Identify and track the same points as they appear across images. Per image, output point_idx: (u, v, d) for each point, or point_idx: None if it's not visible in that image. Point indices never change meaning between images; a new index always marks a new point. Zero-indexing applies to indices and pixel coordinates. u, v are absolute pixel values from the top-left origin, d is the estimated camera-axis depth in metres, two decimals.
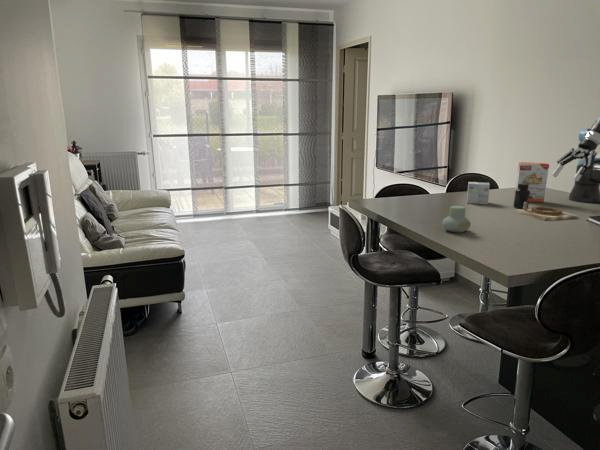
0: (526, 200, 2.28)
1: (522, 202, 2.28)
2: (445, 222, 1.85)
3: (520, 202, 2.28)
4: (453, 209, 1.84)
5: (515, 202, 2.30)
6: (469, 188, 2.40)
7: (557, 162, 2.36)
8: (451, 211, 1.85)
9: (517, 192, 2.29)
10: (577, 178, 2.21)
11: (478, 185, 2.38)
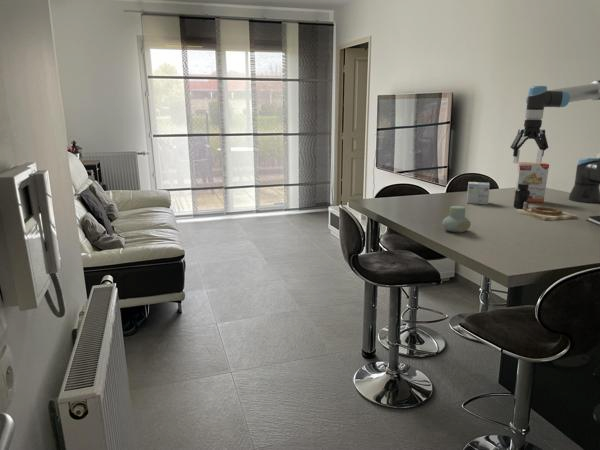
0: (526, 200, 2.28)
1: (522, 202, 2.28)
2: (445, 222, 1.85)
3: (520, 202, 2.28)
4: (453, 209, 1.84)
5: (515, 202, 2.30)
6: (469, 188, 2.40)
7: None
8: (451, 211, 1.85)
9: (517, 192, 2.29)
10: (515, 161, 2.24)
11: (478, 185, 2.38)
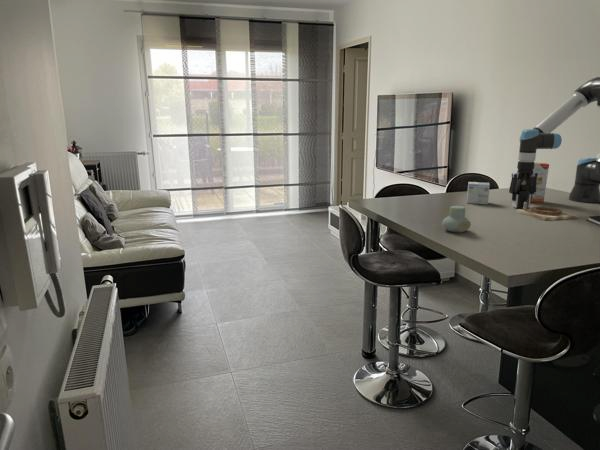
0: (526, 200, 2.28)
1: (522, 202, 2.28)
2: (445, 222, 1.85)
3: (520, 202, 2.28)
4: (453, 209, 1.84)
5: None
6: (469, 188, 2.40)
7: None
8: (451, 211, 1.85)
9: None
10: (514, 205, 2.30)
11: (478, 185, 2.38)
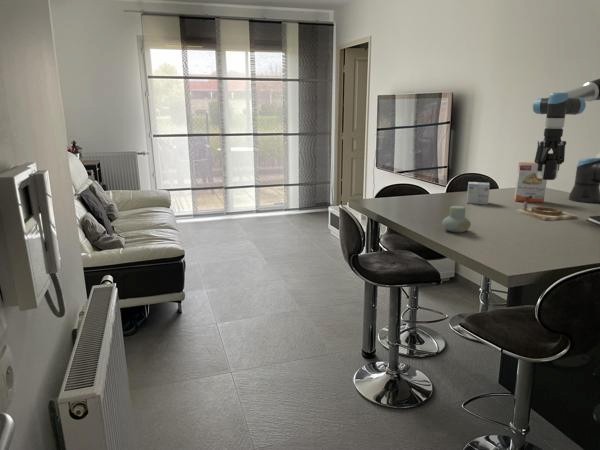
0: (553, 170, 2.10)
1: (548, 172, 2.10)
2: (445, 222, 1.85)
3: (546, 173, 2.10)
4: (453, 209, 1.84)
5: None
6: (469, 188, 2.40)
7: None
8: (451, 211, 1.85)
9: None
10: (540, 176, 2.12)
11: (478, 185, 2.38)
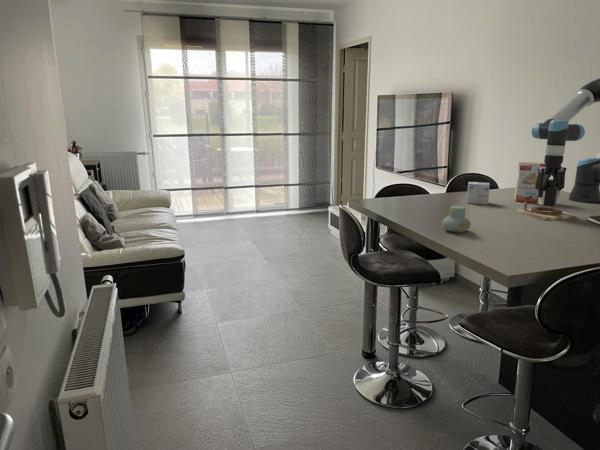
0: (554, 197, 2.10)
1: (549, 198, 2.11)
2: (445, 222, 1.85)
3: (547, 199, 2.11)
4: (453, 209, 1.84)
5: None
6: (469, 188, 2.40)
7: None
8: (451, 211, 1.85)
9: None
10: (540, 202, 2.13)
11: (478, 185, 2.38)
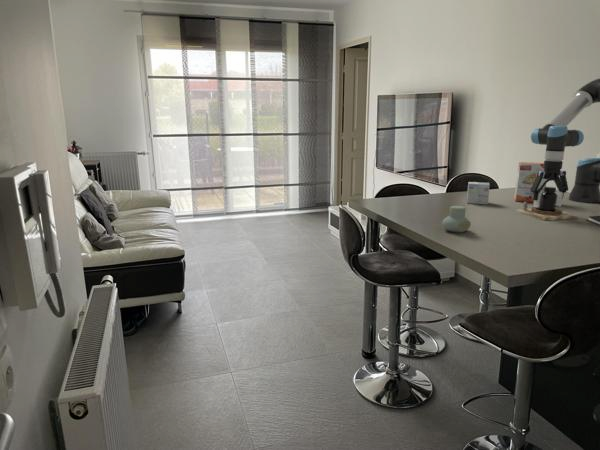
0: (553, 204, 2.11)
1: (548, 206, 2.12)
2: (445, 222, 1.85)
3: (546, 207, 2.12)
4: (453, 209, 1.84)
5: (541, 206, 2.14)
6: (469, 188, 2.40)
7: None
8: (451, 211, 1.85)
9: (543, 196, 2.13)
10: (535, 205, 2.13)
11: (478, 185, 2.38)
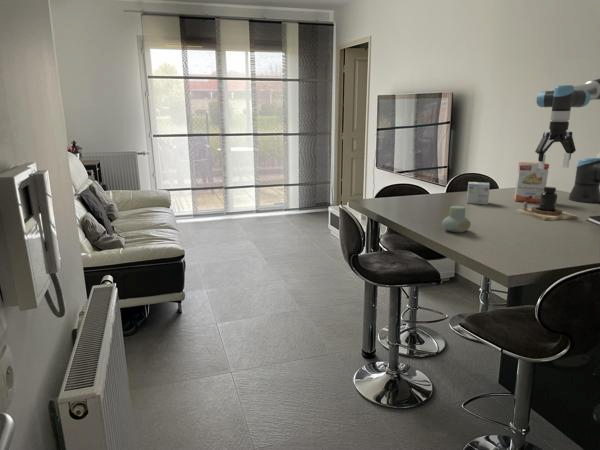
0: (553, 204, 2.11)
1: (548, 206, 2.12)
2: (445, 222, 1.85)
3: (546, 207, 2.12)
4: (453, 209, 1.84)
5: (541, 206, 2.14)
6: (469, 188, 2.40)
7: None
8: (451, 211, 1.85)
9: (543, 196, 2.13)
10: (540, 166, 2.09)
11: (478, 185, 2.38)
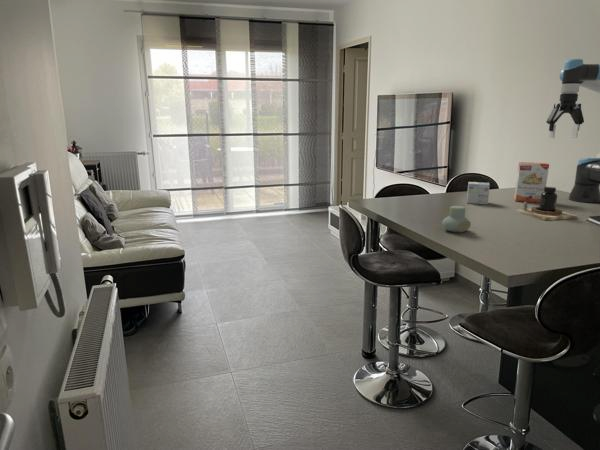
0: (553, 204, 2.11)
1: (548, 206, 2.12)
2: (445, 222, 1.85)
3: (546, 207, 2.12)
4: (453, 209, 1.84)
5: (541, 206, 2.14)
6: (469, 188, 2.40)
7: None
8: (451, 211, 1.85)
9: (543, 196, 2.13)
10: (551, 136, 2.24)
11: (478, 185, 2.38)
